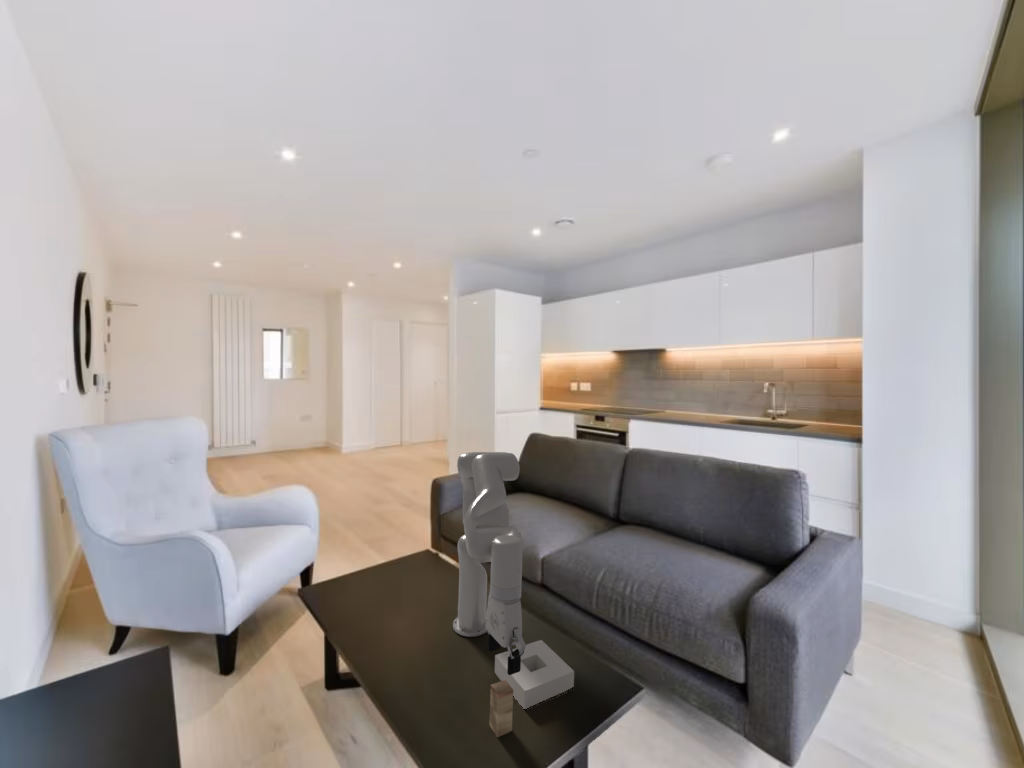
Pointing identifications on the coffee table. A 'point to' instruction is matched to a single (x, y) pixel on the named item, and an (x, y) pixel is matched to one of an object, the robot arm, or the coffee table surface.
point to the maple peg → (501, 708)
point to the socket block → (536, 674)
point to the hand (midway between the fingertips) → (503, 660)
